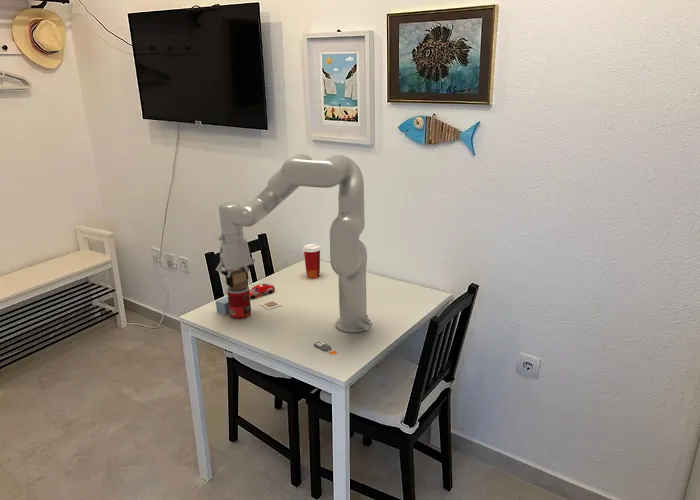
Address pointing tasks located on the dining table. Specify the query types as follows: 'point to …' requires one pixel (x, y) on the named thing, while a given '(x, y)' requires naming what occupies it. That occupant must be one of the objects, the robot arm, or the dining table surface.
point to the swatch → (271, 304)
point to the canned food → (239, 303)
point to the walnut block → (238, 279)
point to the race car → (261, 290)
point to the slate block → (223, 306)
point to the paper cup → (312, 260)
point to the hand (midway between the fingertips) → (237, 283)
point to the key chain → (324, 347)
